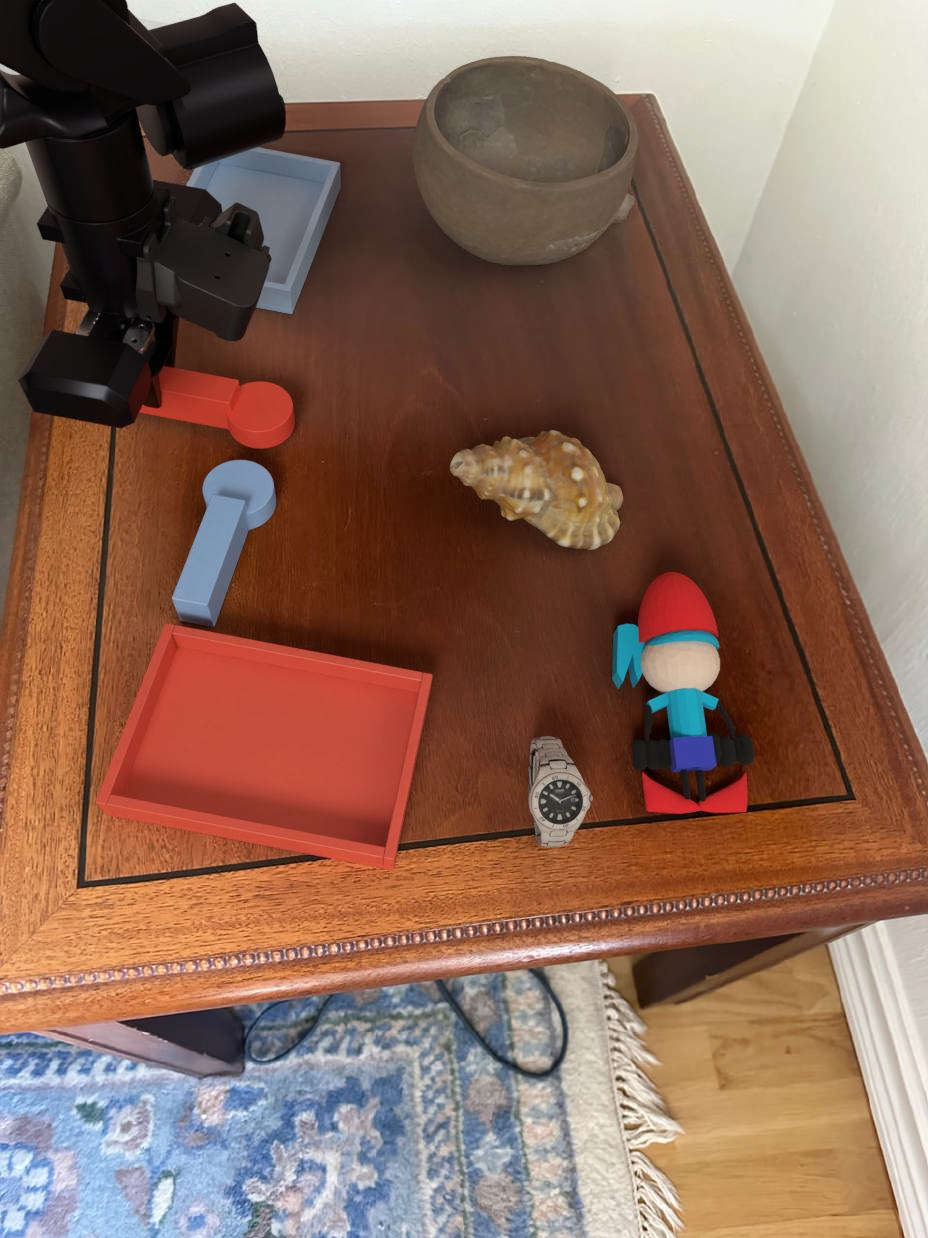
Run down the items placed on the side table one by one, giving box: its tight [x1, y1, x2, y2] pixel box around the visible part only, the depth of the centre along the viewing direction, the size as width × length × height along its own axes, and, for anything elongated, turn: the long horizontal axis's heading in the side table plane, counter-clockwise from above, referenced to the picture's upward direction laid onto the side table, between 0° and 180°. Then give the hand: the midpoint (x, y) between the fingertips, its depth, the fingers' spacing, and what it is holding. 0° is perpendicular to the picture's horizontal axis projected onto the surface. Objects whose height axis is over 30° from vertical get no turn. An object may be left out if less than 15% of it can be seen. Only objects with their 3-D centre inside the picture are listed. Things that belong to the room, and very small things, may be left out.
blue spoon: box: [171, 459, 277, 628], centre depth 58 cm, size 12×5×3 cm, turn 170°
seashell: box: [449, 429, 624, 551], centre depth 60 cm, size 9×8×10 cm
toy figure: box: [611, 571, 756, 815], centre depth 55 cm, size 8×5×15 cm
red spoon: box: [139, 366, 296, 450], centre depth 62 cm, size 12×5×3 cm, turn 80°
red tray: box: [95, 622, 434, 871], centre depth 52 cm, size 16×11×2 cm
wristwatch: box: [527, 735, 594, 849], centre depth 50 cm, size 4×6×5 cm, turn 4°
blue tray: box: [185, 147, 342, 315], centre depth 73 cm, size 16×11×2 cm
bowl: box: [411, 55, 639, 267], centre depth 73 cm, size 17×18×10 cm
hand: (159, 392), depth 62 cm, fingers closed on red spoon, 2 cm apart
